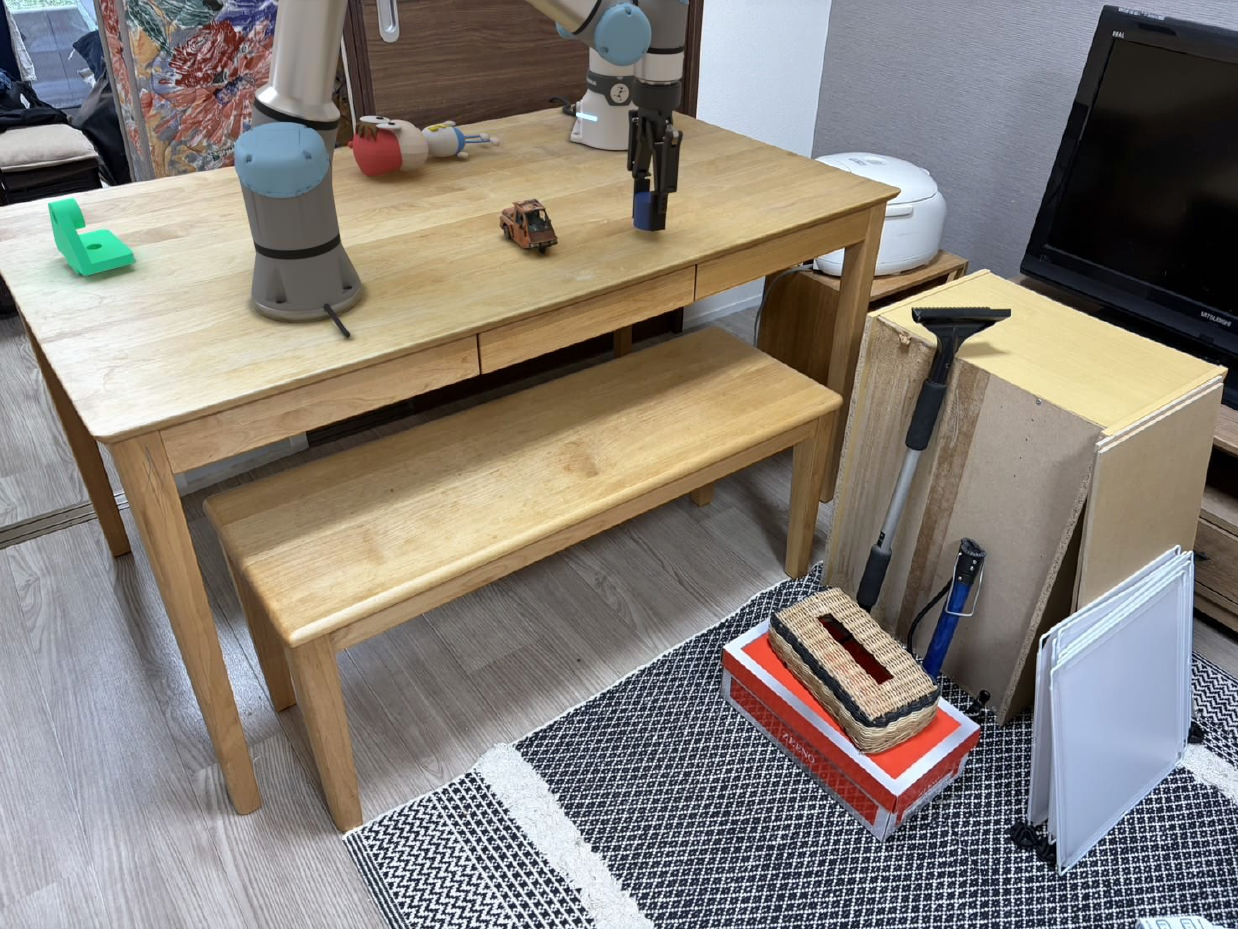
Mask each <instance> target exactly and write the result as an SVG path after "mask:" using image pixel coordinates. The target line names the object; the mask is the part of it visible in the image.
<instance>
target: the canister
mask: <svg viewBox="0 0 1238 929" xmlns="http://www.w3.org/2000/svg"><path fill="white" fill-rule="evenodd" d="M650 191H651V190H650ZM650 191H645V192H640V193H637V194H636V195H635V203H634V219H633V224H632V225H633V227H634V228H635V229H637V230H640V231H643V232H650V231H649V218H650V202H651V192H650Z"/></svg>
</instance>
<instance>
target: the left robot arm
mask: <svg viewBox="0 0 1238 929" xmlns="http://www.w3.org/2000/svg"><path fill="white" fill-rule="evenodd" d="M348 1H349V0H278V3H277V12H276V20H275V25H274V27H275V28H274V34H273V42H272V51H271V56H270V57H271V58H270V66H269V74H268V81H267V82H266V83H265V84H264V85H262V86H260V87H259V88H257V89H256V90H255V92H254V99H253V107H252V113H251V114H252V115H251V123H250V129H249V130H246V131H244V132H243V133H242V134H240V135H239V137H237V139H236V141H235V142H234V146H233V155H234V169H235V173H236V174H237V178H238V179H239V185H240V189H241V193H242V198H243V201H244V206H245V211H246V215H247V219H248V220H247V221H248V224H249V228H250V234H251V237H252V238H251V239H252V242H253V247H254V251H255V258H254V264H253V273H252V283H251V291H250V293H251V299H252V303H253V307H254V309H255V310H256V311H257V313H259V314H260V315H262V316H264V317H266V318H268V319H271V320H275V321H281V322H289V323H304V322H314V321H315V322H316V321H320V320H326V319H330V318H331V320H332V321H333V322H334V324H335V326H336V327H337V328H338V330H339V331H340V332H341V333H342V335H343V336H344V337H345V338H347V339H349V338H350V337H351V336H352V334H351V333H350V332H349V330H348V329H347V328H346V326H345V325H344V323H343V322H342V321H341V319H340V318H339V316H338V315H341V314H343V313H345V312H348V311H349V310H351V309H353V308H354V307H355V306H356V305H357V304H358V303H359V302H360V301H361V298H362V297H363V287H362V282H361V278H360V276H359V274H358V272H357V270H356V268H355V266H354V264H353V263H352V261H351V259H350V257H349V255H348V253H347V251H346V250H345V248H344V245H343V243H342V239H341V233H340V226H339V220H338V214H337V209H336V202H335V196H334V195H335V194H334V187H333V186H334V185H333V161H334V156H335V155H334V154H335V148H336V142H337V137H338V130H339V125H340V118H341V112H340V110H339V109H338V107H337V106H336V104H335V103H334V101H333V94H334V86H335V80H336V76H337V75H336V74H337V68H338V63H339V56H340V49H341V44H342V39H343V33H344V32H343V31H344V26H345V20H346V13H347V9H348ZM524 1H525V2H527V3H528V4H529V5H531V6H532V7H534V8H535V9H537V10H538V11H540V12H541V13H542V14H544V15H545V16H546V17H548V18H549V19H551V20H552V21H553V22H555V26H556V31H557V33H558V35H559V36H560V37H561V38H563V39H573V40H576V41H581V42H582V43H584V44H585V45H587V46H588V47H589V48H590V47H591V48H592V49H594V50H595V51H597V52H598V54H599V55H600V57H601V58H603V59H604V60H606V61H608V62H609V63H611V64H613V65H616V66H629V65H632V64H634V68H633V75H634V76H635V77H636V78H635V79H634V80H633V91H632V102H633V104H634V105H635V106H637V107H638V109H633V110H629V111H628V117H629V138H628V149H627V157H626V158H627V160H626V170H627V171H628V172H631V178H632V179H633V194H632V195H633V196H632V212H631V214H632V215H631V218H632V219H633V220H634V203H635V195H636V194H637V193H640V192H645V191H650V192H651V202H650V218H649V231H648V232H650V233H654V232H660V231H665V230H666V224H667V223H666V222H667V212H668V200H669V194H674V193H677V192H678V183H679V182H678V180H679V168H680V153H681V144H682V141H683V137H684V133H683V131H682V130H680V129H679V130H676V129H675V127H674V119H673V118H674V117H673V112H674V111H675V109H677V108H679V107H680V105H681V98H682V84H683V83H682V82H681V80H680V79H681V78H682V77H683V67H684V59H685V43H686V30H687V22H688V21H687V20H688V12H689V5H690V1H689V0H524ZM637 124H638V125H637ZM651 162H652V173H651V172H650V166H651ZM652 174H653V190H651V179H650V177H652Z"/></svg>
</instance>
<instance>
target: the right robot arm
mask: <svg viewBox="0 0 1238 929" xmlns="http://www.w3.org/2000/svg"><path fill="white" fill-rule="evenodd" d="M588 62H589V66H588V68H587V74H586V88H587V90H586V92H585V94H584V95H583V96H582V99H580V100H579V101H576V102H575V103H574V105H573V106H572V103H571V102H570V101H569V100H567V99H566V98H565V97H562V96H560V95H552V96H550V97H549V98H548V100H547V102H549V103H552V102H553V101H559V102H561V103H563V104H564V105H563V106H562V108H561V110H562V111H561V112H563V113H565V114H566V115H568V116H572V117H574V116H575V117H576V119H575V123H574V126H573V128H572V132H571V133H570V141H571V142H573V143H578V144H583V145H586V146H589V147H592V148H596V149H601V150H608V151H609V150H610V151H628V138H629V117H628V111H629V110H633V109H638V107H637V106H635V105H634V104H633V102H632V91H633V80H634V79H635V78H636V77H635V76H634V75H633V68H634V64H632V65H629V66H616V65H613V64H611V63H609V62H608V61H606V60H604V59H603V58H601V57H600V55H599V54H598V52H597V51H595V50H594V49H592V48H591V47H590V46H589V61H588ZM571 107H572V110H570V108H571ZM637 125H638V124H637Z"/></svg>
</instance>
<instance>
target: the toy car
mask: <svg viewBox="0 0 1238 929" xmlns="http://www.w3.org/2000/svg"><path fill="white" fill-rule="evenodd" d="M512 205H513V206H511V207H506V208H504V209H503V210H502V211H501V215H500V216H499V228H500V229H501V230H503V235H504V237H505V239H506V240H511V241H514V242H515V243H516V244H518V245H519V246H520V247H521V248H522V249H524V250H527V251H531V250H535V249H537V250H538V253H539V254H541V255H545V254H546V253H547V249H548V248H552V247H553V246H556V245H558V244H559V242H558V239H559V237H558V236H557V234H556V231H555V229H554V227H553V224H552V219H550V217H549V215H548V213H547V208H546V207H545V206H544V205H543V204H542V203H540V202H539V199H537V198H529V199H528V198H527V199H524V200H523V199H522V200H517V201H513V202H512ZM541 212H542V213H544V216H543V214H541ZM541 216H542V217H541Z"/></svg>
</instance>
